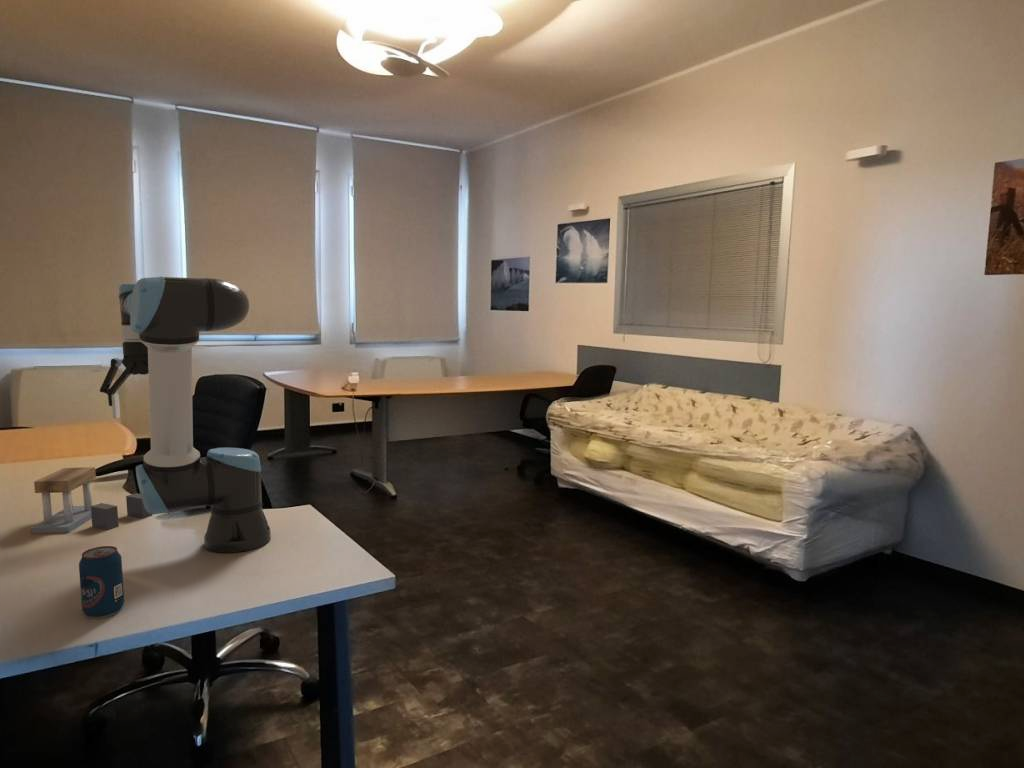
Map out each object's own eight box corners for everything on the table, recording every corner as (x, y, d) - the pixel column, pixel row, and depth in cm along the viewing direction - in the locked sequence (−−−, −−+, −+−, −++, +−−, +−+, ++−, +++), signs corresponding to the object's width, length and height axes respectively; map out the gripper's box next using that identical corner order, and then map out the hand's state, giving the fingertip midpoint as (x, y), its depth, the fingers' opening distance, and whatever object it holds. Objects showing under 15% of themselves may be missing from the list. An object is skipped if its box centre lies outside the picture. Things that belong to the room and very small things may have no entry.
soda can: (73, 618, 126) (68, 556, 124) (101, 602, 133) (97, 543, 131) (106, 621, 125) (101, 559, 123) (133, 604, 131) (129, 546, 130)
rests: (152, 515, 185) (151, 495, 184) (107, 529, 173) (106, 509, 173) (137, 512, 188) (136, 493, 187) (92, 526, 176) (90, 506, 175)
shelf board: (95, 477, 186) (95, 467, 185) (68, 492, 172) (67, 480, 171) (64, 478, 185) (64, 467, 184) (35, 493, 171) (34, 481, 171)
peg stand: (103, 510, 189) (101, 475, 188) (69, 532, 171) (66, 494, 170) (69, 511, 188) (66, 476, 187) (31, 533, 170) (28, 495, 169)
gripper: (190, 339, 190) (194, 413, 192) (95, 340, 186) (100, 416, 188) (181, 340, 182) (186, 417, 185) (82, 341, 179) (88, 420, 181)
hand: (143, 417), depth 187 cm, fingers open, 13 cm apart
